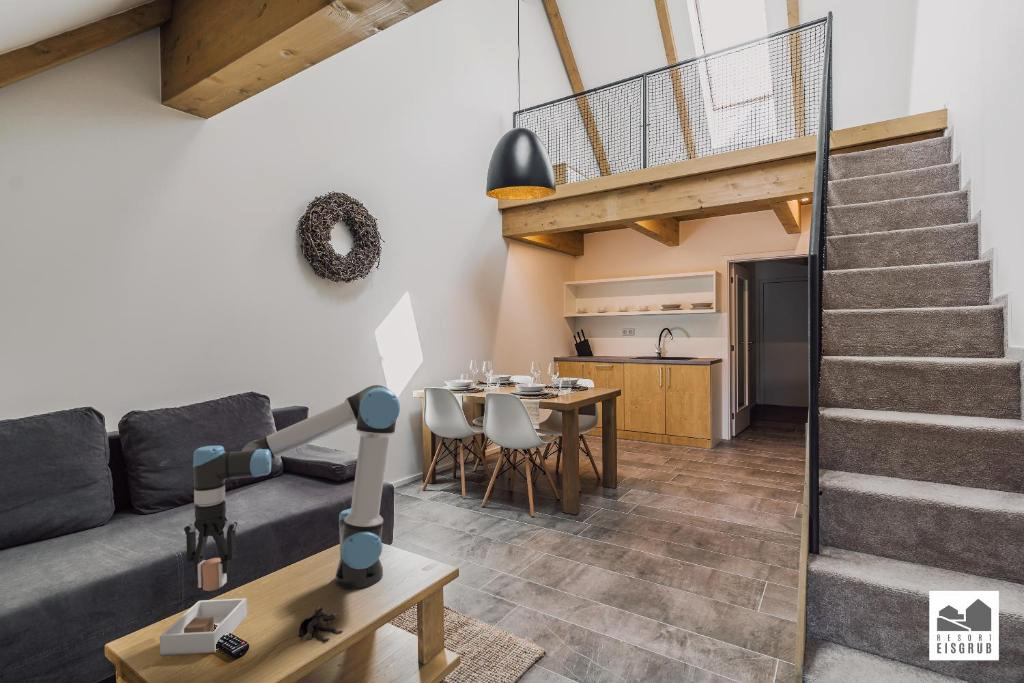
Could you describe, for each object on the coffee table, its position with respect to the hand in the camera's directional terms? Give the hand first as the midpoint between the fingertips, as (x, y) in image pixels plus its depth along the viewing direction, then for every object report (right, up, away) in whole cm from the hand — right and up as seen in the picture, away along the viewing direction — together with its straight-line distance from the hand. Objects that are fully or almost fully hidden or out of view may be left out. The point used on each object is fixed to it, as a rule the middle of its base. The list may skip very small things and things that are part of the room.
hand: (212, 584), depth 144 cm
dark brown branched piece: (+31, -11, -3) cm, 33 cm away
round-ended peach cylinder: (0, -1, 0) cm, 1 cm away
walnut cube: (+1, -11, -8) cm, 14 cm away
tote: (+1, -12, -4) cm, 12 cm away
